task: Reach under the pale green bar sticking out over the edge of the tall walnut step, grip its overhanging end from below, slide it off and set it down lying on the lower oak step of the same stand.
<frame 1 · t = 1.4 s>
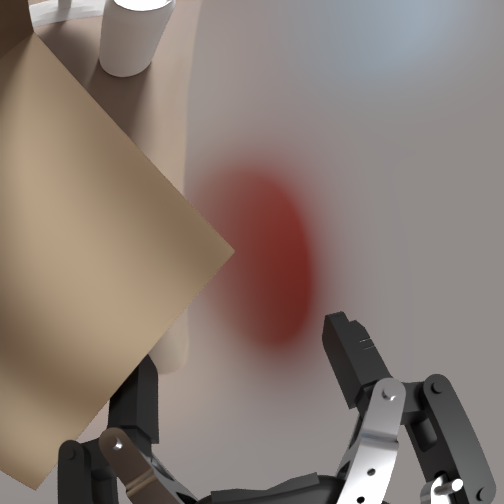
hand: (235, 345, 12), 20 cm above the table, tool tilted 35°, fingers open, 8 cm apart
can: (125, 57, 25), on the table
heart sculpture: (65, 9, 19), on the table
stand: (32, 209, 22), on the table
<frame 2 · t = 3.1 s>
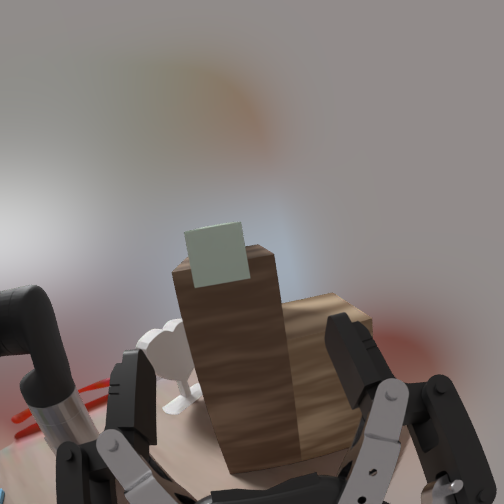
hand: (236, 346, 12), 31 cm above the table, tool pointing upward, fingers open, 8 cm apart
heart sculpture: (187, 398, 57), on the table
stand: (292, 434, 41), on the table
pale green bar: (222, 259, 33), point 32 cm above the table, touching stand
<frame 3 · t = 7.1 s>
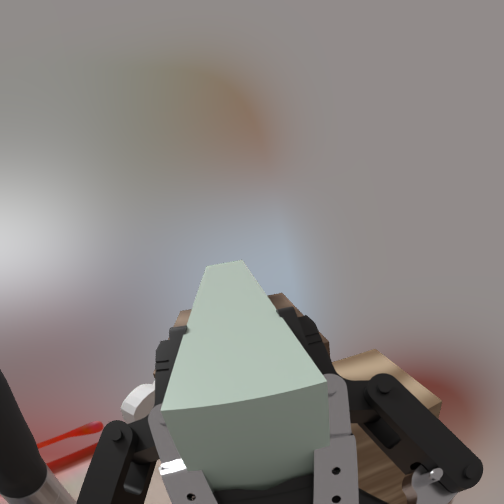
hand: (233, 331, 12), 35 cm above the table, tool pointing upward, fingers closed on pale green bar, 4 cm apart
heart sculpture: (187, 456, 43), on the table
pale green bar: (238, 342, 19), point 32 cm above the table, touching gripper, stand
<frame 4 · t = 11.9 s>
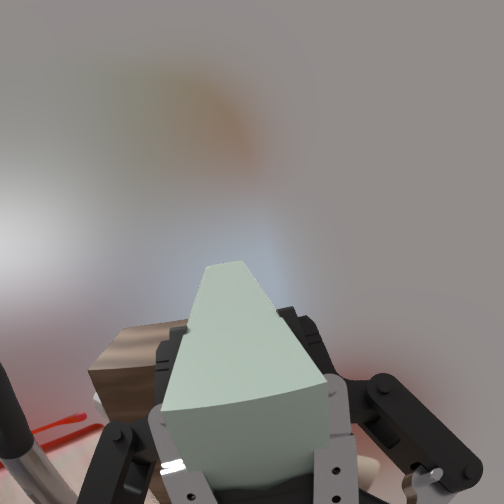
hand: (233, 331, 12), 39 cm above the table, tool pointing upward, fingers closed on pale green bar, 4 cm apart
stand: (240, 492, 36), on the table
pale green bar: (238, 342, 19), point 36 cm above the table, touching gripper
when the fingers open (27 cm above the table, at t = 16.7 s): pale green bar drops 1 cm, resting on stand.
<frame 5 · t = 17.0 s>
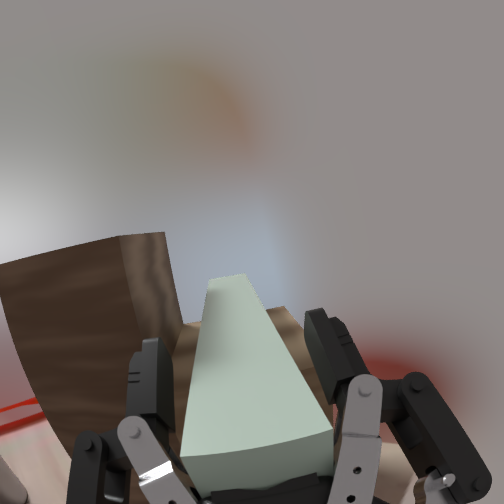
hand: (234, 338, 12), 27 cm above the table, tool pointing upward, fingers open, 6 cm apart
stand: (227, 496, 25), on the table
pale green bar: (242, 361, 19), point 22 cm above the table, touching stand
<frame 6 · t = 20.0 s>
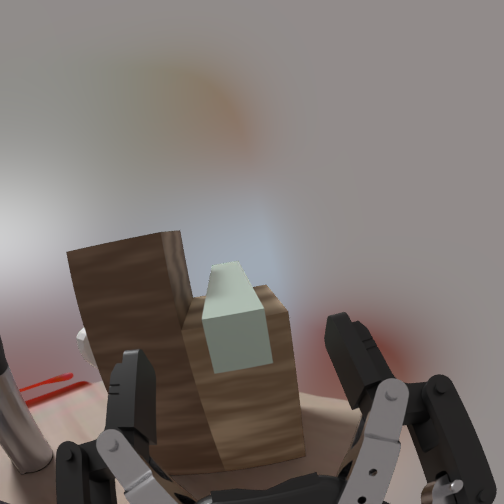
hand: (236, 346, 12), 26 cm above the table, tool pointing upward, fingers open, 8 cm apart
heart sculpture: (133, 395, 53), on the table
stand: (223, 440, 37), on the table
pale green bar: (233, 313, 31), point 22 cm above the table, touching stand
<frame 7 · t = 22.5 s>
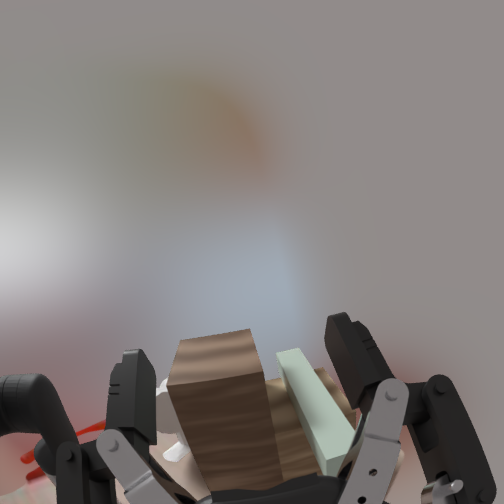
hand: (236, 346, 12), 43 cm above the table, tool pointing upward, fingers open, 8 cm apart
heart sculpture: (185, 445, 55), on the table
stand: (282, 486, 40), on the table
pale green bar: (311, 411, 34), point 22 cm above the table, touching stand
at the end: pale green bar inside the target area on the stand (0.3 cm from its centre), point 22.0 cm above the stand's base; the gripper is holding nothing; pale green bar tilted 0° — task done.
